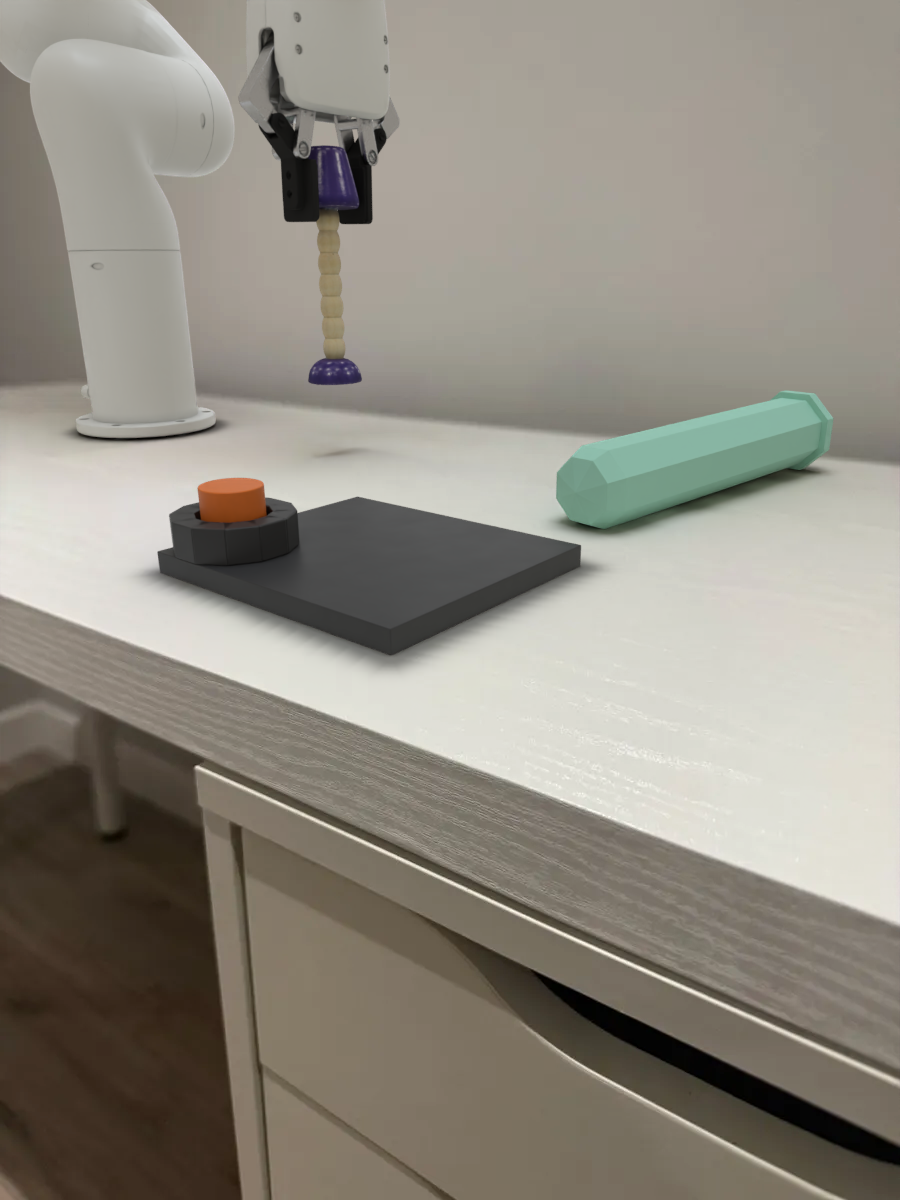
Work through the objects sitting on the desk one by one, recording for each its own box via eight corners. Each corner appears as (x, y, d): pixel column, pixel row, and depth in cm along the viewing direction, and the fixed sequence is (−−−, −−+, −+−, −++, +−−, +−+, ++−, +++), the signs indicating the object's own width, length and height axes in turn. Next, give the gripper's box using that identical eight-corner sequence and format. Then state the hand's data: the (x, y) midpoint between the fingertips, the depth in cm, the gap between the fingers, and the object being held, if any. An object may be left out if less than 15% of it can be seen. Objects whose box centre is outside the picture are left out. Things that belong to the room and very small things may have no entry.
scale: (152, 571, 45) (144, 514, 43) (352, 513, 55) (349, 465, 54) (390, 657, 35) (387, 586, 34) (580, 567, 45) (583, 510, 44)
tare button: (188, 520, 44) (183, 486, 43) (240, 507, 46) (237, 474, 45) (227, 531, 42) (224, 496, 41) (279, 517, 44) (277, 483, 44)
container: (600, 428, 47) (823, 377, 63) (525, 454, 52) (750, 401, 67) (628, 534, 48) (843, 458, 63) (552, 551, 52) (769, 476, 68)
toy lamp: (292, 381, 70) (280, 146, 64) (337, 375, 73) (329, 151, 67) (331, 387, 67) (322, 141, 61) (377, 381, 70) (372, 147, 64)
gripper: (368, -33, 67) (372, 226, 74) (176, -98, 55) (203, 219, 62) (443, -52, 63) (440, 225, 70) (252, -127, 51) (272, 218, 57)
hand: (329, 220), depth 66 cm, fingers closed on toy lamp, 4 cm apart
